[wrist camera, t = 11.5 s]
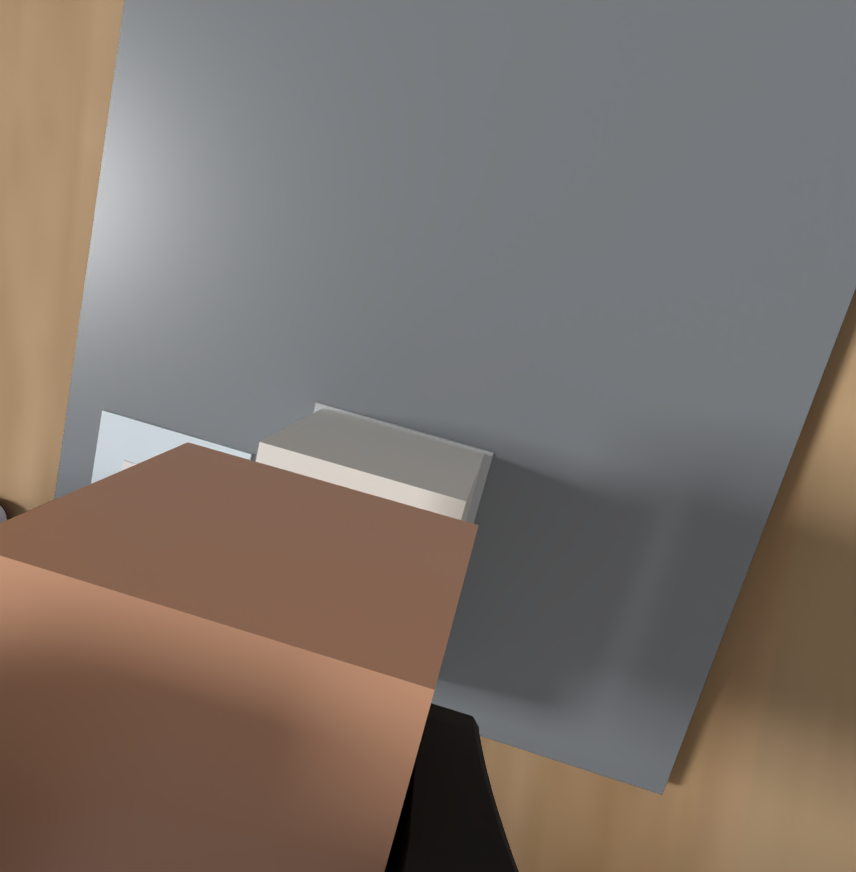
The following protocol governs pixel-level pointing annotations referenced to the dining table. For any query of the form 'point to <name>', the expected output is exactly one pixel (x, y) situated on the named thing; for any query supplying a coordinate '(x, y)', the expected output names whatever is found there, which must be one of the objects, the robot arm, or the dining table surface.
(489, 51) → the baseplate
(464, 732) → the robot arm
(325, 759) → the terracotta brick
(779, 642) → the dining table surface
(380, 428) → the off-white brick
